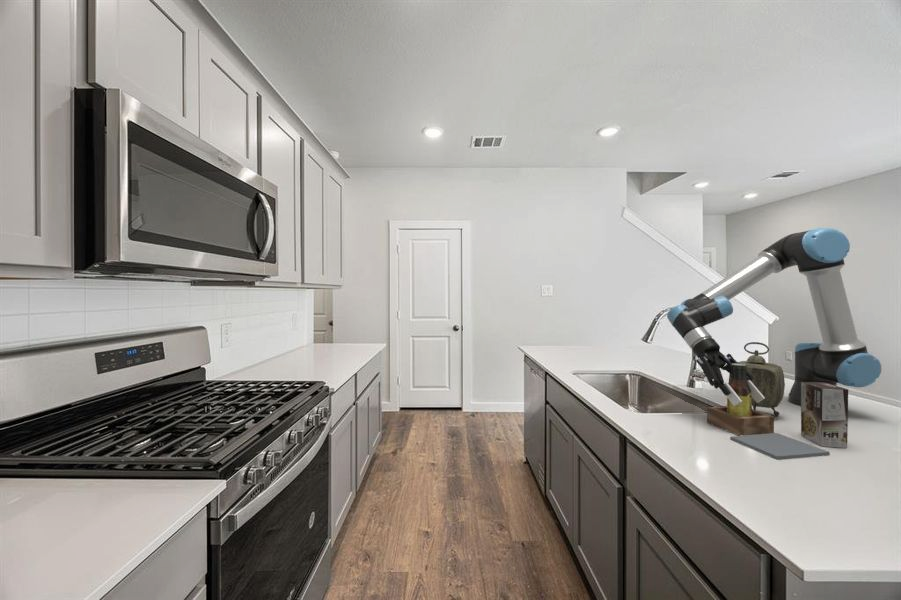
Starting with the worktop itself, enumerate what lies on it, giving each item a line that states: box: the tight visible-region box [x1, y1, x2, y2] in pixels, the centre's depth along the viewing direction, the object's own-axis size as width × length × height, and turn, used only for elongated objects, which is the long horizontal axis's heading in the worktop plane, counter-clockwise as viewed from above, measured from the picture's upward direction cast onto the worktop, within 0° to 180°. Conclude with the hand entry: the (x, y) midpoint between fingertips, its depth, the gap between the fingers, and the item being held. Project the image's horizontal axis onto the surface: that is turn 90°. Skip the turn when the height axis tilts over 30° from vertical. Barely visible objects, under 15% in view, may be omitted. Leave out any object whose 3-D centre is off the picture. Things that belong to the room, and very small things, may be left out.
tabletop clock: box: [728, 341, 786, 417], centre depth 138 cm, size 14×9×25 cm, turn 43°
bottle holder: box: [706, 405, 775, 436], centre depth 125 cm, size 12×12×5 cm
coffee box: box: [800, 382, 849, 449], centre depth 113 cm, size 9×6×16 cm
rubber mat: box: [729, 432, 831, 460], centre depth 110 cm, size 16×14×1 cm
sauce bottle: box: [726, 363, 753, 417], centre depth 125 cm, size 7×6×20 cm
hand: (749, 402), depth 122 cm, fingers open, 9 cm apart
